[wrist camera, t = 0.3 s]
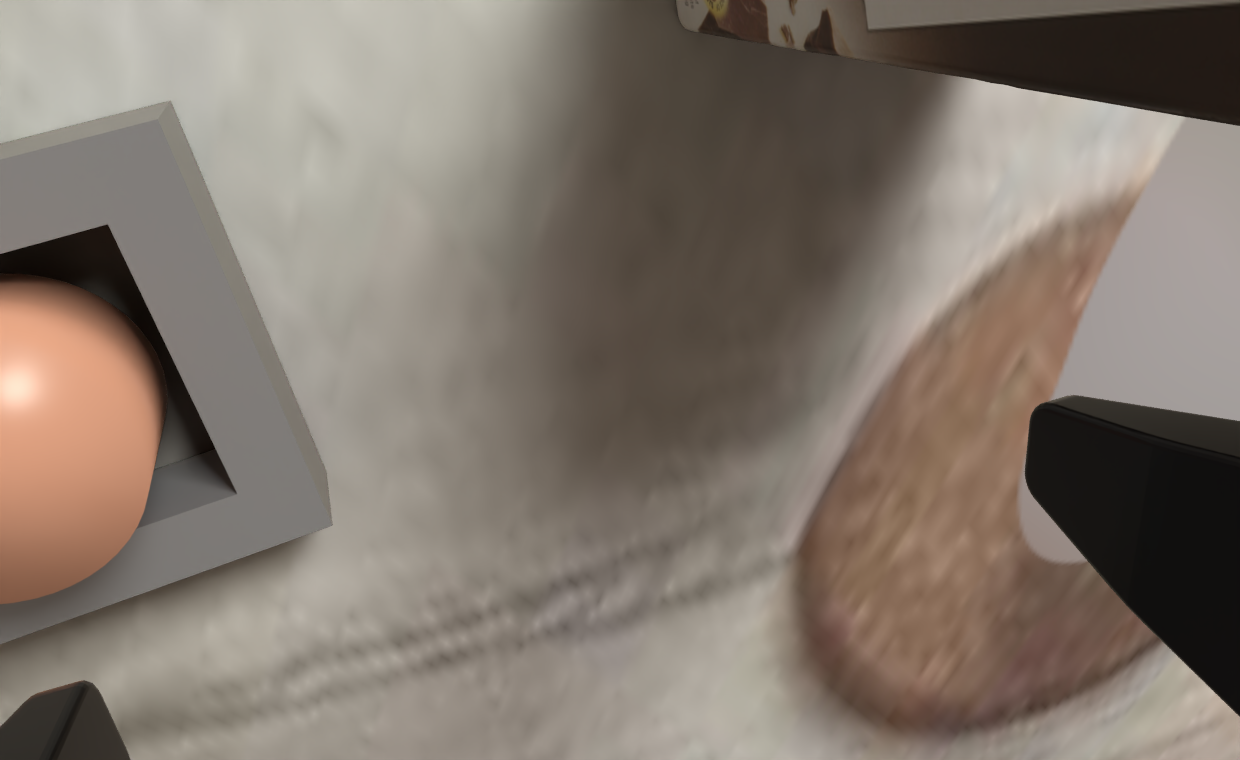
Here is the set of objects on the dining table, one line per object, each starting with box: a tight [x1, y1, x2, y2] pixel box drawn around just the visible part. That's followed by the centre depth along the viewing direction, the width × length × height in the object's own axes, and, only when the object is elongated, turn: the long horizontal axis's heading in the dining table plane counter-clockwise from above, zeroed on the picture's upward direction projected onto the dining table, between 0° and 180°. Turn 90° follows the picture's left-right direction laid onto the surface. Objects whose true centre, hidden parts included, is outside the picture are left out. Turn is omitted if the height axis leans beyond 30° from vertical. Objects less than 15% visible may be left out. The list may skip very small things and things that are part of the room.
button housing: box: [0, 101, 333, 644], centre depth 19 cm, size 9×9×2 cm
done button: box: [0, 274, 168, 604], centre depth 17 cm, size 5×5×4 cm
